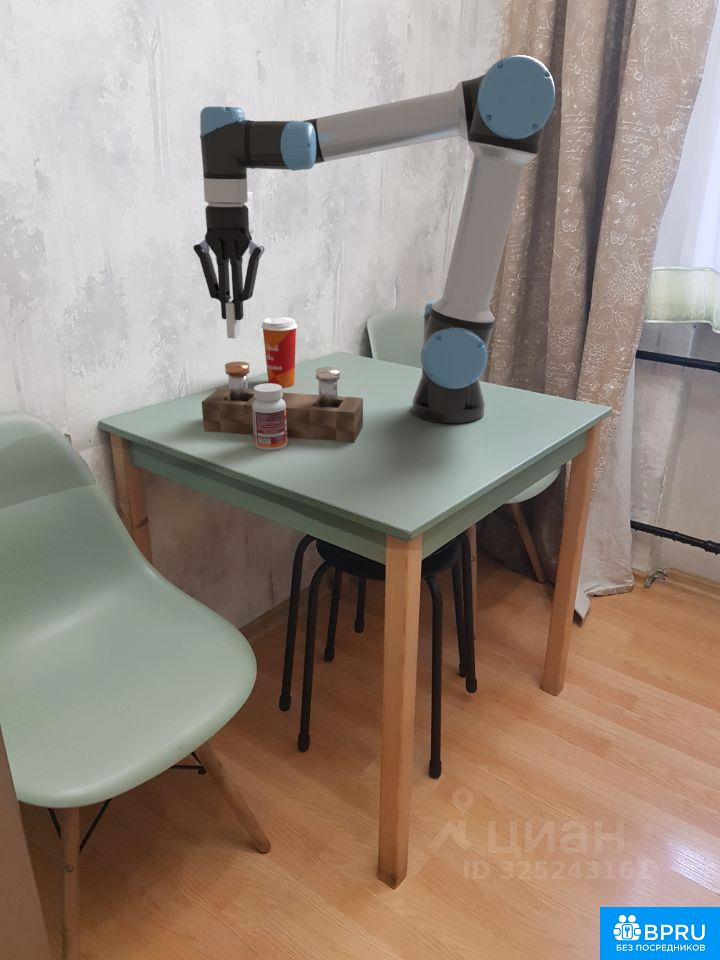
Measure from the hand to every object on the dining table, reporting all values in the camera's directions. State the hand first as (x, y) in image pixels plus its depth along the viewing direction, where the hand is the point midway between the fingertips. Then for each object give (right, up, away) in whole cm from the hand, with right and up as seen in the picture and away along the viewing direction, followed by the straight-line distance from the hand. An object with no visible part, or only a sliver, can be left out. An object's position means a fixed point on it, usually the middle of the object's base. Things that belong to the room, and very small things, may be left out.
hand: (233, 336), depth 140 cm
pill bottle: (+7, -21, -2) cm, 22 cm away
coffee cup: (+6, -5, +33) cm, 34 cm away
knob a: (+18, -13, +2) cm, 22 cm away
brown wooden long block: (+9, -17, +6) cm, 20 cm away
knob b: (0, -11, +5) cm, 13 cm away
